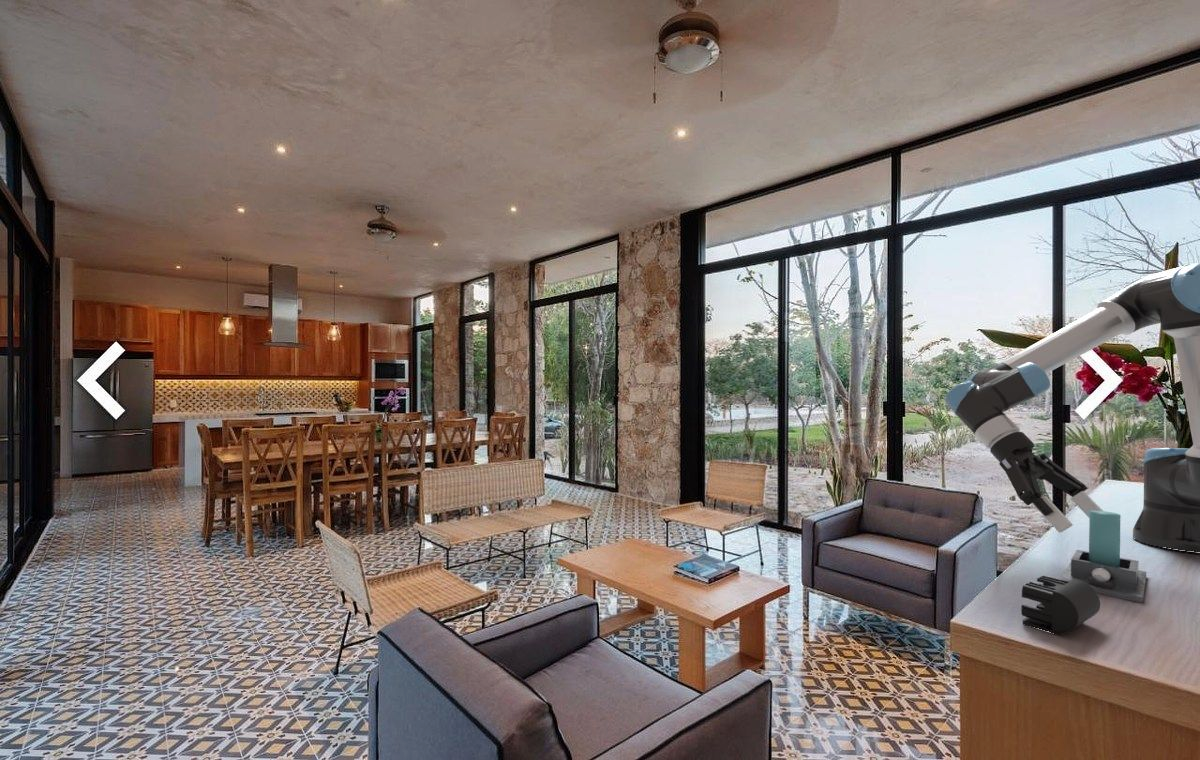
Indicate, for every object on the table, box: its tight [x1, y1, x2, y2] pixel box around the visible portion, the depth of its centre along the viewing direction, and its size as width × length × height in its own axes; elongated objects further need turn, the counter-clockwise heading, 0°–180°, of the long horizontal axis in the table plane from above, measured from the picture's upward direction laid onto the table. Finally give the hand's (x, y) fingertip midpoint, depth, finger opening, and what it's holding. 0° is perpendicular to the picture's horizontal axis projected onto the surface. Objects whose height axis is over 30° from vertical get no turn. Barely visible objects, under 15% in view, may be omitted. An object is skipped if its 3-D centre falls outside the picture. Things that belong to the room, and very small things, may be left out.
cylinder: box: [1088, 510, 1121, 567], centre depth 106 cm, size 4×4×12 cm
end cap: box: [1020, 575, 1101, 636], centre depth 86 cm, size 10×7×7 cm
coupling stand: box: [1059, 549, 1147, 604], centre depth 106 cm, size 19×11×4 cm, turn 134°
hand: (1085, 525), depth 108 cm, fingers open, 13 cm apart
